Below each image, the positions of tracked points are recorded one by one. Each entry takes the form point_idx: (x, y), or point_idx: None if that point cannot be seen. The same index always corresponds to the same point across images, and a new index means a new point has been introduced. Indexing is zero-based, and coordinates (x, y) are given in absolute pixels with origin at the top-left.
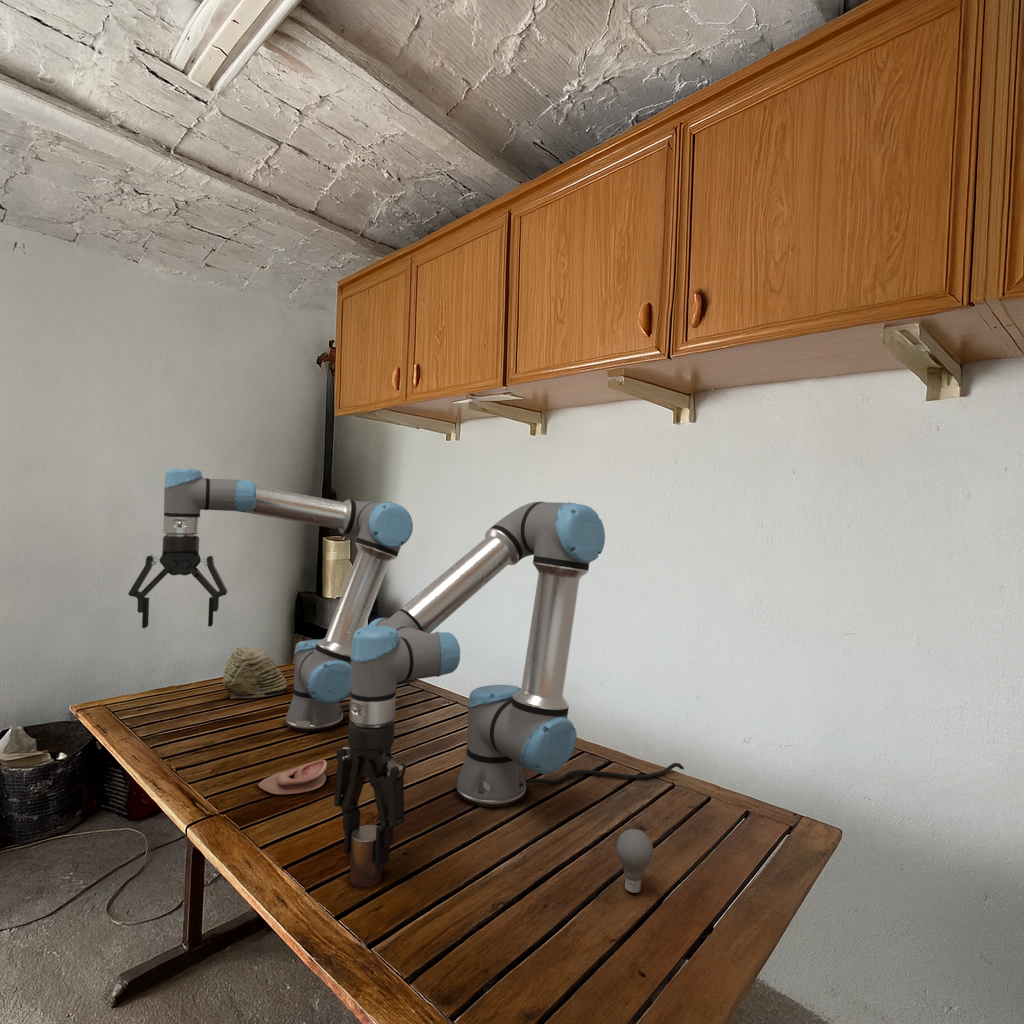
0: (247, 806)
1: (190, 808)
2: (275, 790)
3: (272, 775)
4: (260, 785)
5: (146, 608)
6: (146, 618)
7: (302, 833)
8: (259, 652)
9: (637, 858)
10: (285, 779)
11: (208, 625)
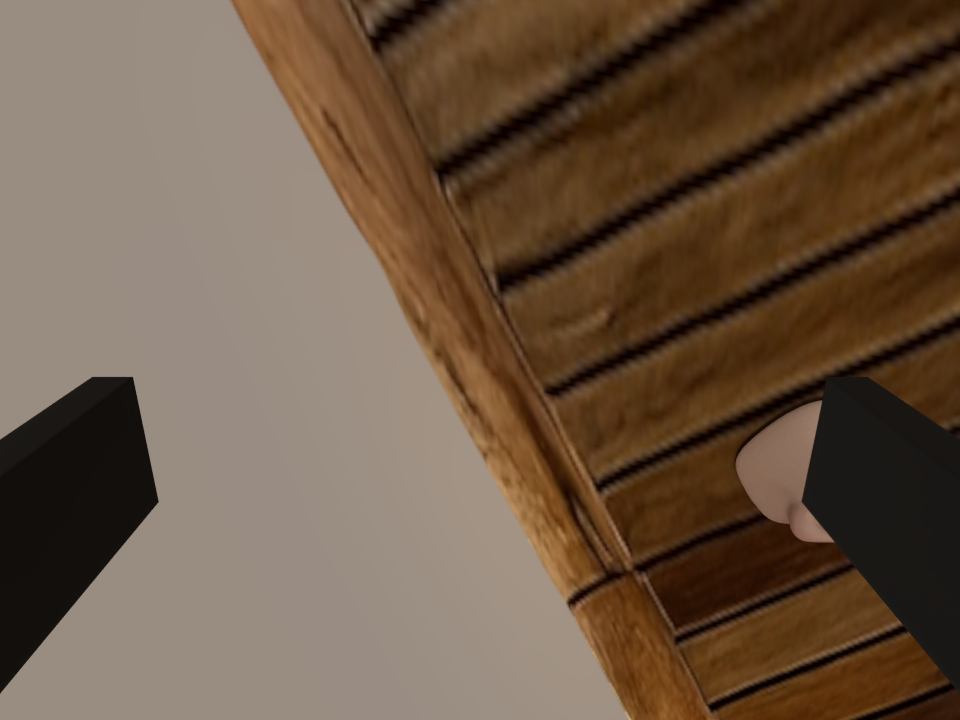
0: (697, 552)
1: (565, 532)
2: (776, 517)
3: (783, 439)
4: (741, 476)
5: (6, 679)
6: (96, 547)
7: (797, 680)
8: None
9: None
10: (814, 528)
11: (810, 505)
